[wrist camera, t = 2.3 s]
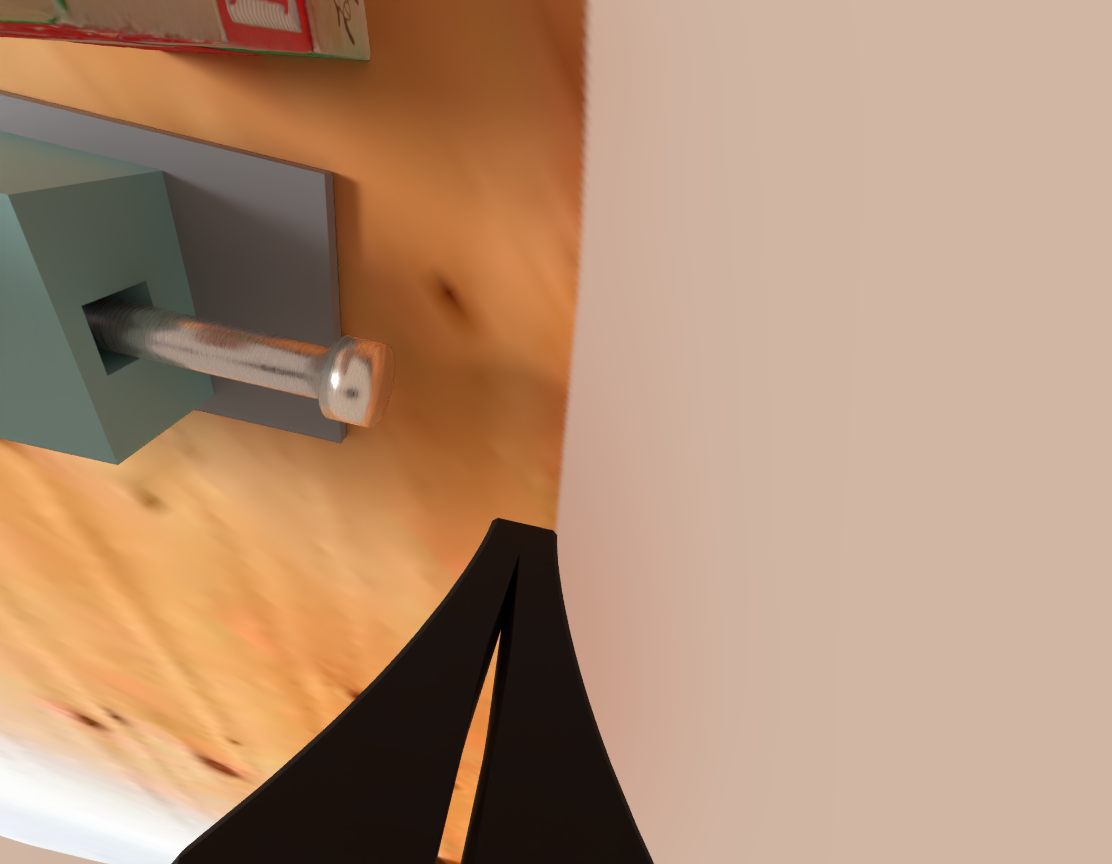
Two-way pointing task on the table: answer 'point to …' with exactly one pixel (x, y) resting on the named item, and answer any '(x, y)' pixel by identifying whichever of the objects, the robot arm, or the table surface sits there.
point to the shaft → (252, 356)
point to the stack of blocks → (198, 25)
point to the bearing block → (149, 274)
